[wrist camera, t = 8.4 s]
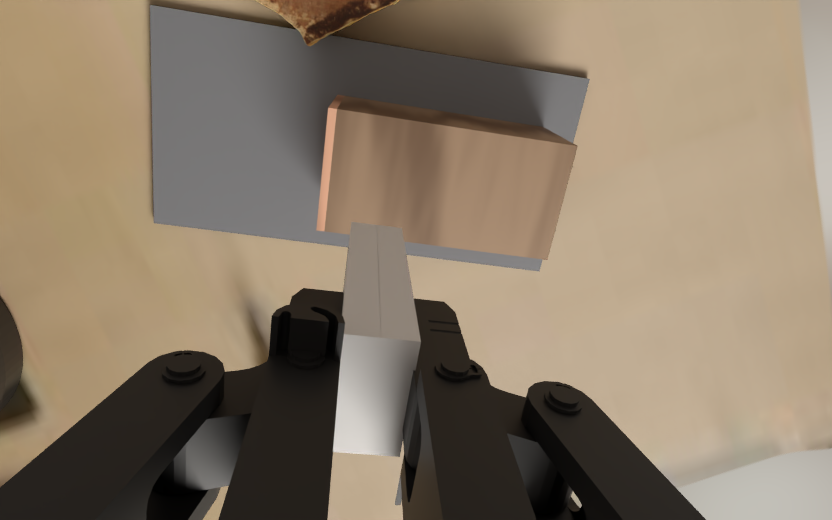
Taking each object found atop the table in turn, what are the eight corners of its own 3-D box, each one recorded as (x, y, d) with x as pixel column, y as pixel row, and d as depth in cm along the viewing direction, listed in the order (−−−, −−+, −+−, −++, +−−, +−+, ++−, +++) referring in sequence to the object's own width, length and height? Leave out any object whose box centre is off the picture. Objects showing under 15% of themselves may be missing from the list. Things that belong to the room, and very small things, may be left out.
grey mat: (156, 220, 33) (153, 223, 33) (152, 5, 29) (149, 4, 29) (537, 269, 36) (539, 271, 36) (587, 78, 32) (589, 79, 31)
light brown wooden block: (316, 230, 27) (547, 260, 29) (328, 107, 25) (577, 145, 27) (326, 197, 33) (520, 223, 34) (337, 94, 31) (543, 126, 32)
